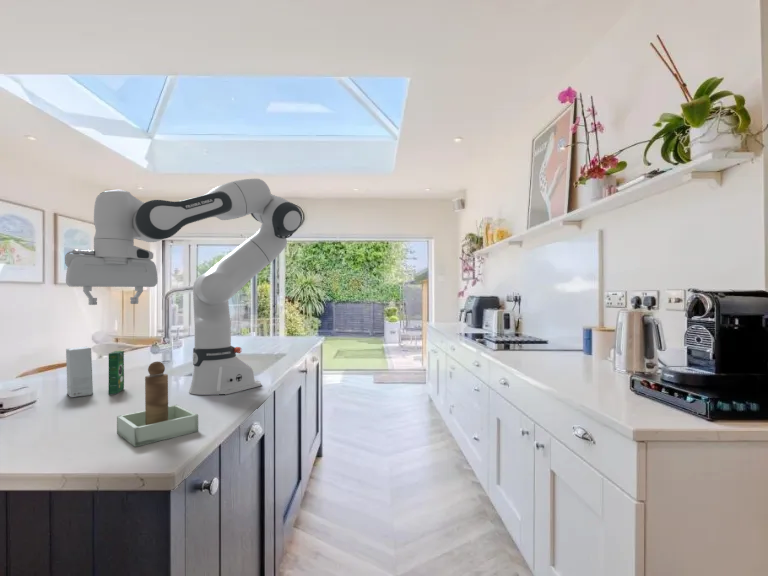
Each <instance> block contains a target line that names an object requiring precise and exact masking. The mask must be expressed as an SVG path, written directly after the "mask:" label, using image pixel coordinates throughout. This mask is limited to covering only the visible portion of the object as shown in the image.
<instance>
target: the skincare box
mask: <svg viewBox="0 0 768 576" xmlns="http://www.w3.org/2000/svg"><path fill="white" fill-rule="evenodd" d="M92 357H93V356H92V347H90V346H89V347H88V346H79V347H71V348H66V349H65V358H66V360H65V361H66V362H65V363H66V389H67V391H66V392H67V393H66V394H67V395H68V396H69V397H70V398H77V397H86V396H93V395H94V388H93V385H94V384H93V364H92V363H93V361H92Z"/></svg>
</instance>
